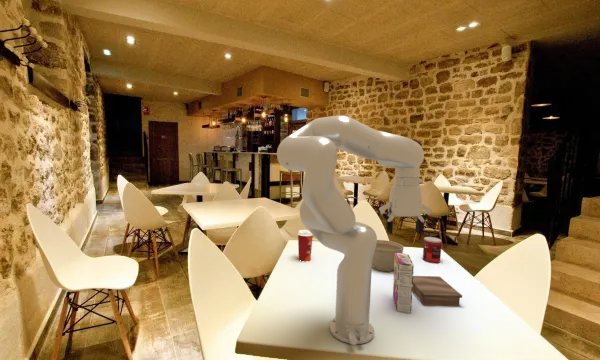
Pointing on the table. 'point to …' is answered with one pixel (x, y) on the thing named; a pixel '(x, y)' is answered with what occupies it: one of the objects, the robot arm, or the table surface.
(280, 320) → the table surface
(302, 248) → the paper cup
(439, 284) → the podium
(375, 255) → the planter bowl
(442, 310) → the table surface
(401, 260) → the candy bar box
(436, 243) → the canned food
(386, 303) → the table surface
